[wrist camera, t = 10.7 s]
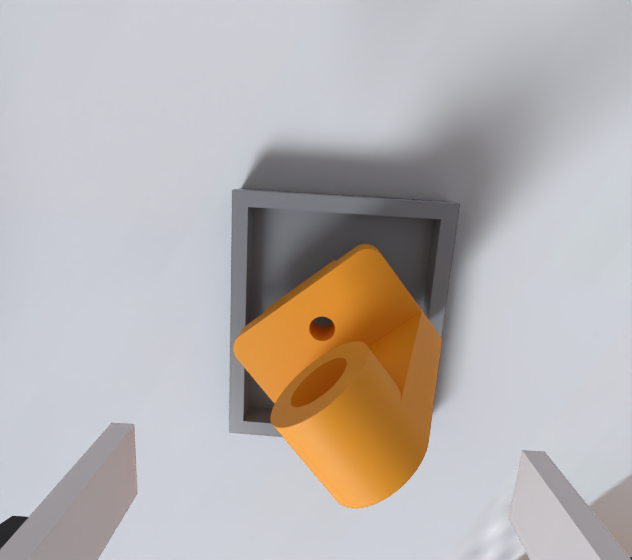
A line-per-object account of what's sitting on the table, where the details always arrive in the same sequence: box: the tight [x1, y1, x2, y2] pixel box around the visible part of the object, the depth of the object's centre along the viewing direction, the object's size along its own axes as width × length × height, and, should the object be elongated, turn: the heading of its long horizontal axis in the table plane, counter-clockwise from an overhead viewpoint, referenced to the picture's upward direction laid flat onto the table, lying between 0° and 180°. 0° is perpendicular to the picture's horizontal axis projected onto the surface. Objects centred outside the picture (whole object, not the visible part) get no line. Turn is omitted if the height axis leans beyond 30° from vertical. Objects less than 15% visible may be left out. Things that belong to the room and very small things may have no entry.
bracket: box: [233, 244, 442, 508], centre depth 22 cm, size 11×7×12 cm, turn 127°
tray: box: [229, 189, 460, 437], centre depth 29 cm, size 14×17×2 cm
